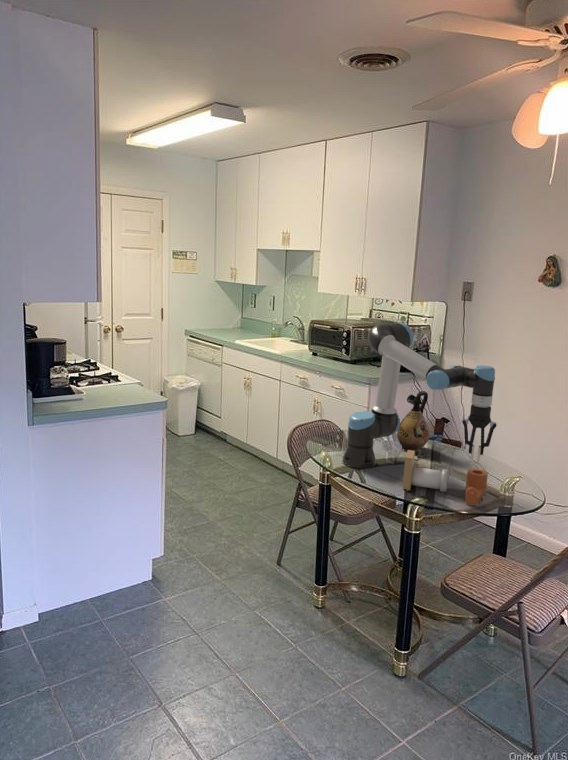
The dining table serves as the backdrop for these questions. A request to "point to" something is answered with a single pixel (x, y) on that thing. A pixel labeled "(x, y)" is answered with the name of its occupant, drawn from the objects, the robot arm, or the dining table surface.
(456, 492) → the gasket mat
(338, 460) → the dining table surface
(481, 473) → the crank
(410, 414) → the ceramic jug
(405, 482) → the pipe stub
